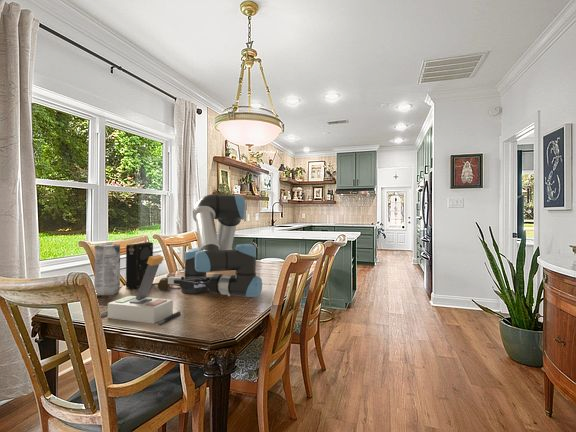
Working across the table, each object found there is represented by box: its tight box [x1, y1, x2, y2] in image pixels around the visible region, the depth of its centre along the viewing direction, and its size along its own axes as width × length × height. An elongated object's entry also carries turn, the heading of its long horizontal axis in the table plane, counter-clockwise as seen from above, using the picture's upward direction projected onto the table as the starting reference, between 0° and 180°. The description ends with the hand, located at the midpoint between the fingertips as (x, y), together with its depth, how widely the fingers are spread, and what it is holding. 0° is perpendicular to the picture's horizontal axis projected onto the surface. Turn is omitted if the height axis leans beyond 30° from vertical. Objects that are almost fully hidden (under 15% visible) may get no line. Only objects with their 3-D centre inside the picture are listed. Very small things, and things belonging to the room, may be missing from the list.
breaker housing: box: [107, 295, 174, 324], centre depth 130 cm, size 22×12×7 cm, turn 75°
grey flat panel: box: [100, 310, 181, 326], centre depth 131 cm, size 29×13×1 cm, turn 75°
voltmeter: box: [125, 241, 154, 290], centre depth 182 cm, size 16×9×25 cm, turn 168°
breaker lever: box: [136, 254, 164, 301], centre depth 129 cm, size 2×6×19 cm, turn 165°
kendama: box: [152, 277, 180, 291], centre depth 178 cm, size 6×10×20 cm
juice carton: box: [94, 241, 121, 296], centre depth 164 cm, size 9×10×27 cm
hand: (169, 280), depth 127 cm, fingers closed
